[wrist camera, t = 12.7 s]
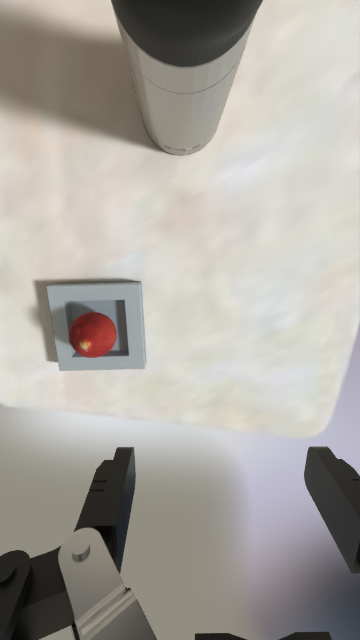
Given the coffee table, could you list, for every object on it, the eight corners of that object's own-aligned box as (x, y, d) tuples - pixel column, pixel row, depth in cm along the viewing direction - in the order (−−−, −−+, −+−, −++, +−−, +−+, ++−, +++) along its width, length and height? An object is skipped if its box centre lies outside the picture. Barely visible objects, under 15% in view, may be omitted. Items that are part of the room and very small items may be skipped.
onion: (80, 344, 39) (56, 368, 31) (79, 305, 37) (54, 320, 30) (121, 346, 39) (107, 371, 31) (122, 307, 38) (107, 324, 30)
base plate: (54, 283, 38) (46, 286, 35) (141, 281, 38) (138, 284, 35) (66, 363, 41) (59, 370, 38) (146, 361, 41) (144, 368, 38)
